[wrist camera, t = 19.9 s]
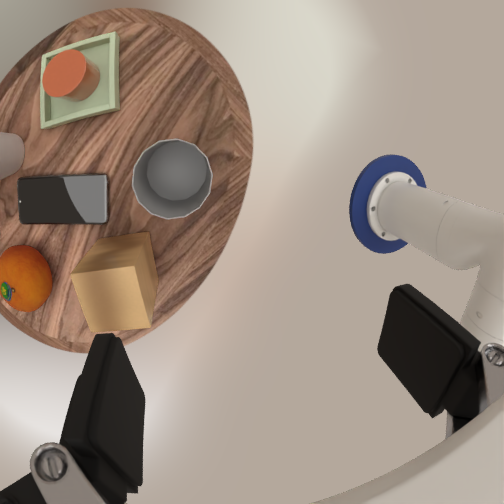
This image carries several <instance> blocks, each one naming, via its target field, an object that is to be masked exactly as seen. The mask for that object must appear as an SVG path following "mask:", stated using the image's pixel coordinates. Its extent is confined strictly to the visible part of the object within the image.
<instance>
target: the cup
mask: <svg viewBox="0 0 504 504" xmlns="http://www.w3.org/2000/svg"><path fill="white" fill-rule="evenodd" d="M212 177H213V174H212V171H211V167H210V164H209V161H208V158H207V157H206V156H205V155H204V153H203V152H202V151H201V150H200V149H199V148H198V147H197V146H196V145H195V144H192V143H189V142H186V141H183V140H180V139H169V140H162V141H158V142H156V143H155V144H153V145H152V146H150V147H149V148H147V149H146V150H144V151H143V152H142V154H141V156H140V157H139V159H138V161H137V162H136V164H135V166H134V168H133V178H132V187H133V190H134V193H135V195H136V198H137V201H138V202H139V203H140V204H141V205H142V206H143V207H144V208H145V209H146V210H147V211H148V212H149V213H150V214H152V215H155V216H158V217H161V218H164V219H174V218H182V217H186V216H188V215H189V214H191V213H192V212H194V211H196V210H197V209H199V208H200V207H201V206H202V204H203V203H204V201H205V200H206V198H207V197H208V195H209V194H210V190H211V183H212Z"/></svg>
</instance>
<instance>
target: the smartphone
mask: <svg viewBox="0 0 504 504" xmlns="http://www.w3.org/2000/svg"><path fill="white" fill-rule="evenodd" d="M108 180H109V179H108V175H107V174H105V173H89V174H63V175H45V176H42V175H41V176H31V177H21V178H19V179H18V181H17V191H18V208H19V219H20V222H21V224H95V225H104V224H106V223H107V222H108V219H109V215H108Z"/></svg>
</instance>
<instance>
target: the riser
mask: <svg viewBox="0 0 504 504" xmlns="http://www.w3.org/2000/svg"><path fill="white" fill-rule="evenodd" d="M70 275H71V279H72V282H73V285H74V288H75V291H76V294H77V297H78V299H79V302H80V305H81V308H82V310H83V313H84V316H85V318H86V321H87V323H88V326H89V328H90V331H91V332H106V331H119V330H131V329H142V328H151V323H152V316H153V310H154V304H155V298H156V293H157V287H158V282H159V280H158V275H157V270H156V265H155V260H154V255H153V250H152V245H151V239H150V233H149V231H148V232H141V233H134V234H127V235H120V236H114V237H107V238H101V239H98V241H97V242H96V243H95V244H94V245H93V246H92V248H91V249H90V250H89V251H88V253H87V254H86V255H85V256H84V257H83V259H82V260H81V261H80V262H79V264H78V265H77V266H76V267H75V269H74V270H73V271H72V273H71V274H70Z"/></svg>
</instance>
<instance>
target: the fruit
mask: <svg viewBox="0 0 504 504" xmlns="http://www.w3.org/2000/svg"><path fill="white" fill-rule="evenodd" d="M51 290H52V274H51V271H50V268H49V265H48V263H47V261H46V260H45V258H44V257H43V256H42V255H41V254H40V253H39V252H38V251H37V250H36V249H34V248H33V247H30V246H27V245H17V246H12V247H10V248H8V249H7V250H5V251H4V253H3V254H2V255H1V257H0V294H1V296H2V297H3V298H4V300H5V301H6V302H7V303H8V304H9V305H10V306H11V307H13V308H14V309H16V310H18V311H24V312H31V311H35V310H37V309H38V308H39V307H41V306H42V304H43V303H44V302H45V301H46V300H47V298H48V297H49V295H50V293H51Z"/></svg>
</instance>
